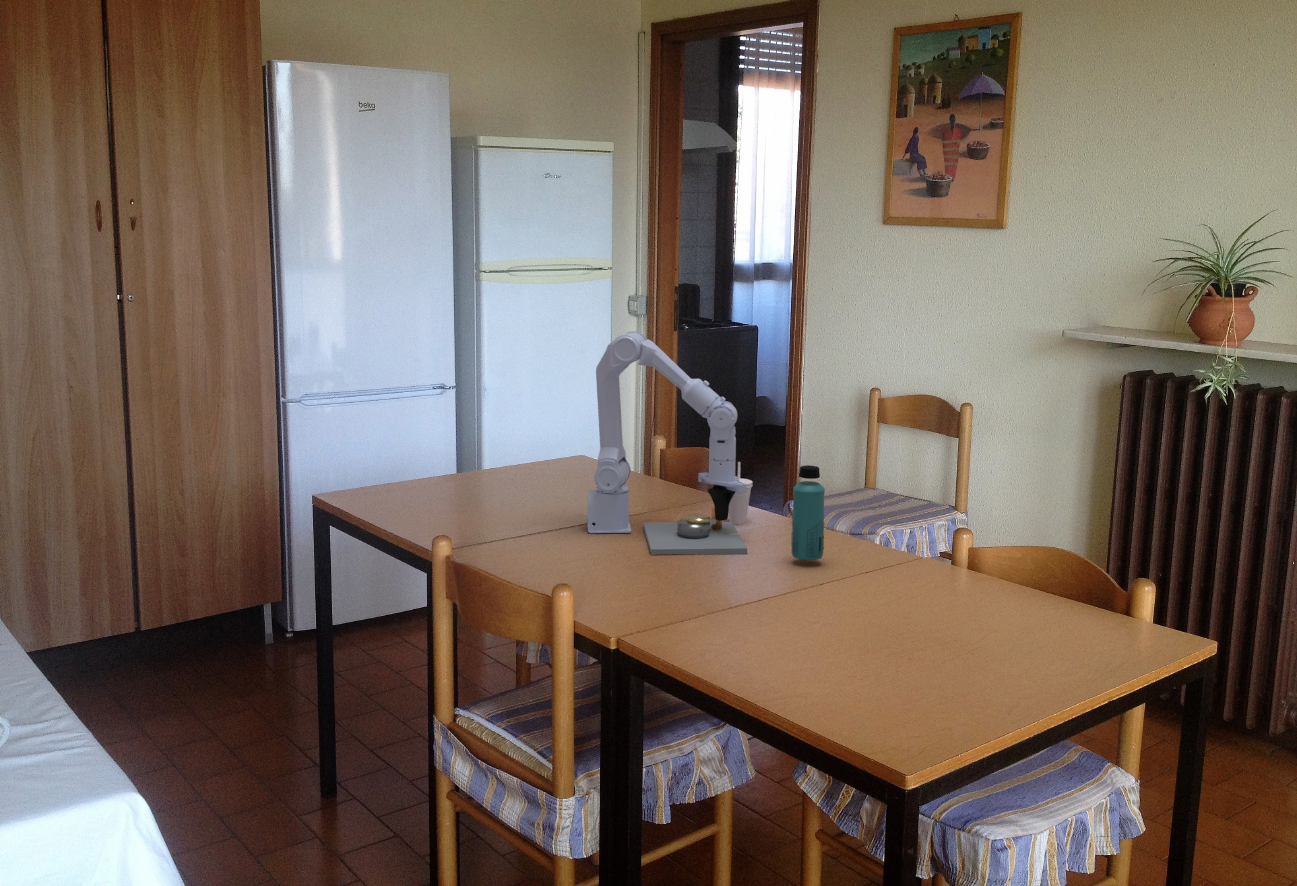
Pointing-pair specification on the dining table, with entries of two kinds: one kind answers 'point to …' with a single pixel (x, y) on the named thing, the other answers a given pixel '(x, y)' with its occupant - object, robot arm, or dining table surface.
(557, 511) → the dining table surface
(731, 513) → the smoothie
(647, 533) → the stand
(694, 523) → the crank
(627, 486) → the robot arm
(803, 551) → the beverage bottle
